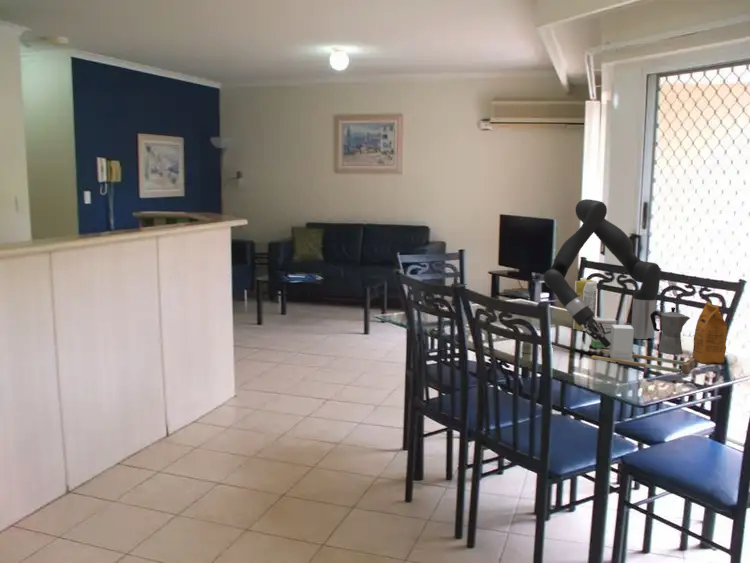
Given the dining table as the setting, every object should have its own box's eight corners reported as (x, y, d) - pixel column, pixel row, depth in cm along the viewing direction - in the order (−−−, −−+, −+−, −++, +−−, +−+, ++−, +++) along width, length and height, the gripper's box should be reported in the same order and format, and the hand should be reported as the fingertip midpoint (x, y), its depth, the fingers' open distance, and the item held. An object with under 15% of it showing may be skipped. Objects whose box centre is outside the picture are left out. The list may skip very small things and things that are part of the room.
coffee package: (715, 356, 264) (720, 301, 260) (727, 365, 251) (732, 307, 248) (688, 355, 265) (692, 300, 262) (699, 364, 253) (703, 306, 250)
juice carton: (582, 327, 317) (584, 276, 314) (597, 329, 311) (599, 278, 308) (570, 329, 311) (572, 278, 308) (585, 332, 305) (587, 279, 302)
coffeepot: (691, 352, 270) (694, 308, 268) (682, 356, 264) (685, 311, 261) (653, 345, 281) (655, 303, 279) (643, 349, 275) (646, 305, 272)
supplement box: (632, 361, 256) (634, 328, 254) (611, 360, 257) (613, 327, 256) (629, 356, 263) (631, 324, 261) (609, 355, 265) (610, 323, 263)
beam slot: (603, 351, 271) (603, 344, 270) (695, 365, 250) (695, 357, 250) (591, 358, 260) (591, 350, 260) (686, 373, 240) (686, 365, 239)
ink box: (593, 348, 277) (594, 319, 275) (590, 345, 282) (592, 317, 280) (615, 348, 276) (616, 320, 275) (611, 345, 281) (613, 317, 279)
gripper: (580, 307, 261) (610, 343, 255) (592, 302, 271) (621, 337, 266) (566, 319, 265) (595, 355, 259) (578, 314, 275) (607, 348, 270)
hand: (608, 346), depth 262 cm, fingers closed
